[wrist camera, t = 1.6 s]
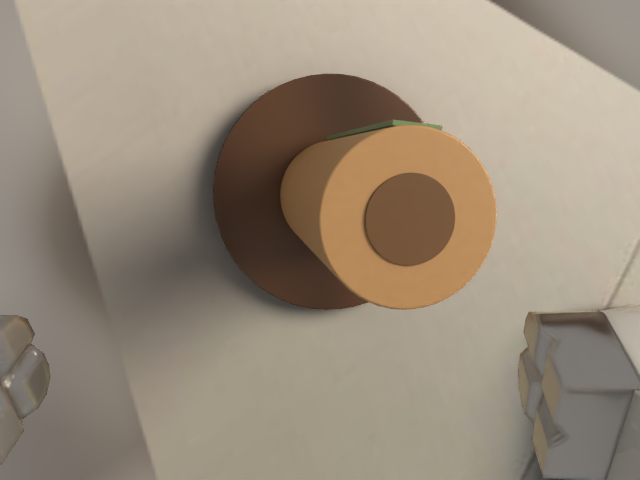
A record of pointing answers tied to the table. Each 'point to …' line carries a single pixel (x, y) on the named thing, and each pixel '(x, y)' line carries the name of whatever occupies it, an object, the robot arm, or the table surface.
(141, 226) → the table surface
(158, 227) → the table surface
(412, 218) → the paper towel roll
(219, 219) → the disc
